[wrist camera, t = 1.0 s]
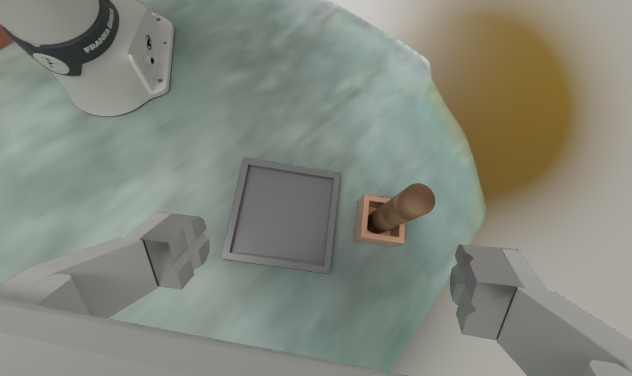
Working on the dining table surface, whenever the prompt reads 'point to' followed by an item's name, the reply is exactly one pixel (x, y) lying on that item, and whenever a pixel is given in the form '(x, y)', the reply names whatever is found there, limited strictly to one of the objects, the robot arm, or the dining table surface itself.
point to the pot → (363, 210)
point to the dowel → (401, 208)
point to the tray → (283, 216)
